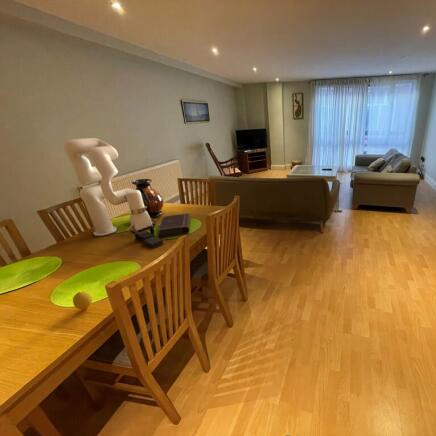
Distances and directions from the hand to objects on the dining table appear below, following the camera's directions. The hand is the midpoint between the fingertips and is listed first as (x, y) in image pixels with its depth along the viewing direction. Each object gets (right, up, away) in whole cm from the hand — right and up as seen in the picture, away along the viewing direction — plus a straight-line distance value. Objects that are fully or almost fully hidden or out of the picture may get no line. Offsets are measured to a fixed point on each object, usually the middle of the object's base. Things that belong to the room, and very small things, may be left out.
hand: (145, 236), depth 150 cm
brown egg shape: (+10, -25, -56) cm, 62 cm away
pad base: (+9, -4, -7) cm, 12 cm away
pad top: (-9, +5, +15) cm, 18 cm away
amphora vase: (-18, +13, +36) cm, 42 cm away
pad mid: (0, -1, 0) cm, 1 cm away
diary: (+12, +5, +14) cm, 19 cm away
